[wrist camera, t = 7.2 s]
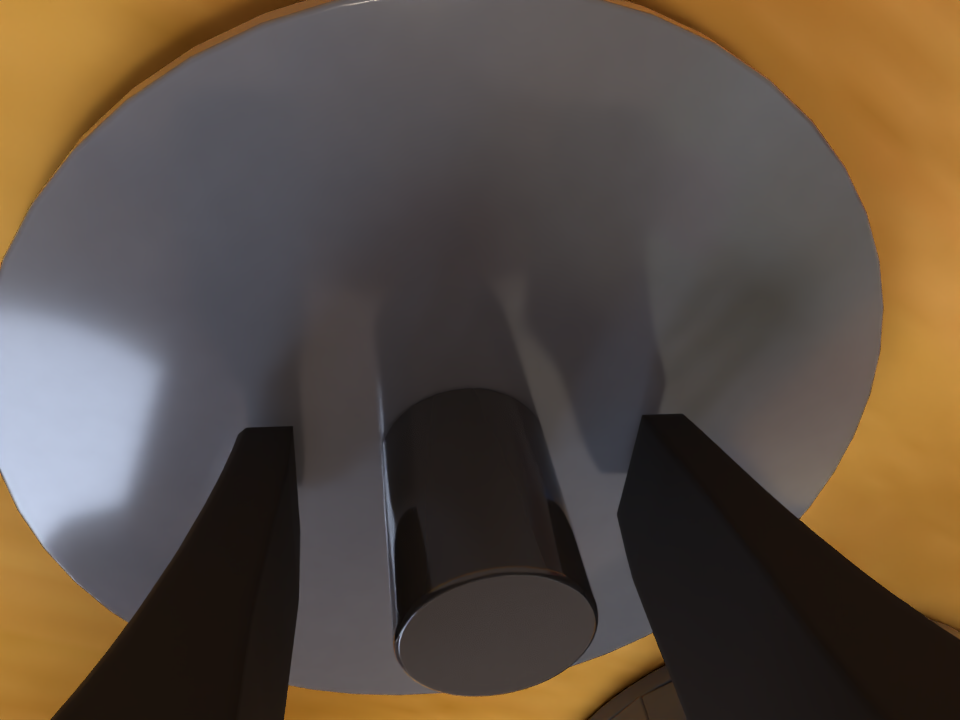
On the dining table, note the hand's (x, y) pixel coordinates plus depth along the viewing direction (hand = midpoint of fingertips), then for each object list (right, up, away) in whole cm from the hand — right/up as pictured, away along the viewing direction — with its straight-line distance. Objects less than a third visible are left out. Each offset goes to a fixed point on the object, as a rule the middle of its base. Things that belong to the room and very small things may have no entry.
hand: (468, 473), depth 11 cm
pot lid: (0, +1, +1) cm, 1 cm away
